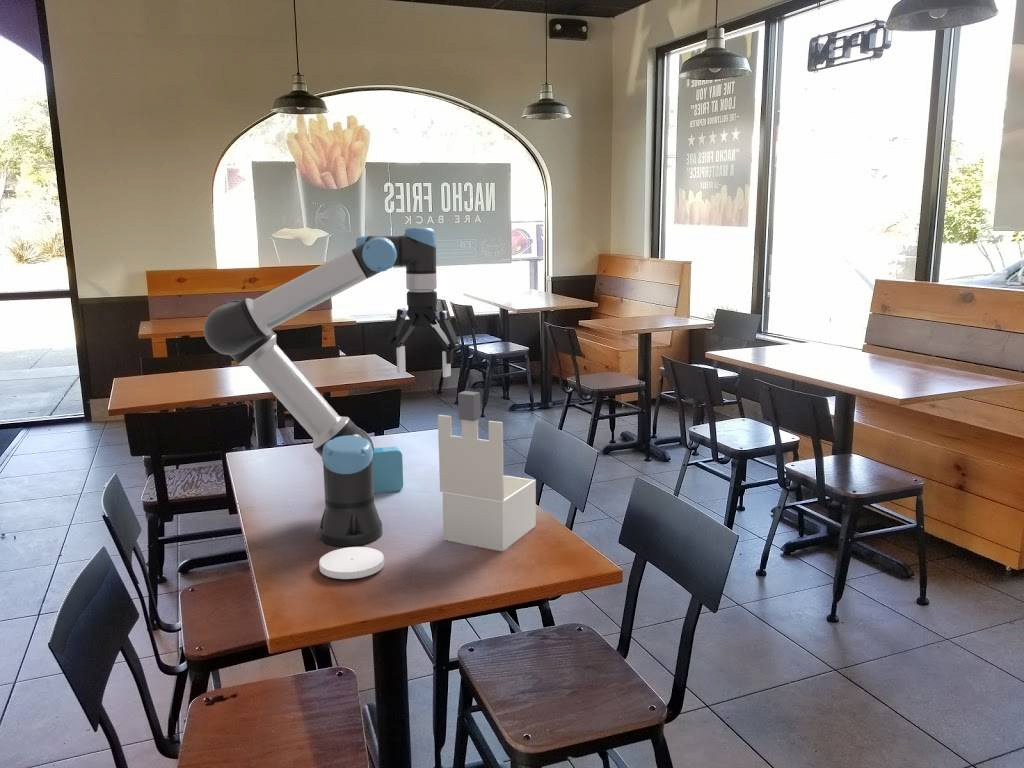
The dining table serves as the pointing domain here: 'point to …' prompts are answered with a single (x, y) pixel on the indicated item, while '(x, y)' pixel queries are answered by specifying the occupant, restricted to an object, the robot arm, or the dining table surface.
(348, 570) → the plastic lid
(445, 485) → the carton flap
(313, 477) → the dining table surface
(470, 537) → the carton
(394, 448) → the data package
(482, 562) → the dining table surface
